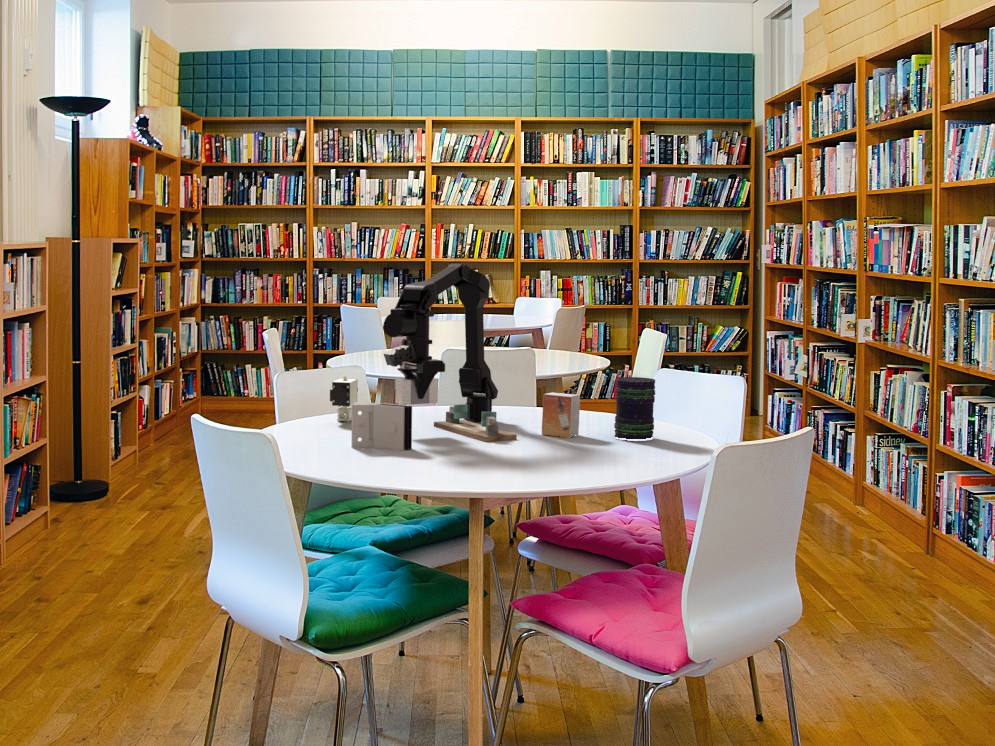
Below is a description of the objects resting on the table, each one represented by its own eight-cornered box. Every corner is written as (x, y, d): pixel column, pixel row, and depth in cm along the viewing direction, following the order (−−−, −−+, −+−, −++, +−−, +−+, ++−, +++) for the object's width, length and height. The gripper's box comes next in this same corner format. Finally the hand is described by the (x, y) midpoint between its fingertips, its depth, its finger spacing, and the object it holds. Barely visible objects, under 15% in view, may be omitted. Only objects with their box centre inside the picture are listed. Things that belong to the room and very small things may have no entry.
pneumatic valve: (358, 418, 292) (358, 374, 291) (348, 424, 281) (348, 379, 279) (338, 417, 293) (338, 373, 291) (327, 423, 281) (327, 378, 280)
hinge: (350, 448, 247) (350, 404, 246) (357, 444, 252) (357, 401, 251) (408, 450, 245) (409, 407, 244) (414, 447, 250) (415, 404, 249)
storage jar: (652, 442, 262) (654, 382, 260) (612, 440, 264) (614, 380, 262) (654, 436, 272) (656, 378, 270) (615, 434, 274) (617, 376, 272)
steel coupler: (430, 400, 271) (430, 377, 271) (438, 402, 268) (438, 379, 267) (395, 402, 266) (395, 378, 266) (402, 404, 263) (402, 380, 262)
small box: (541, 435, 270) (542, 394, 269) (550, 432, 275) (551, 391, 274) (570, 438, 266) (571, 396, 265) (579, 435, 271) (580, 394, 270)
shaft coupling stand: (463, 424, 285) (463, 400, 284) (516, 439, 263) (517, 413, 262) (433, 426, 280) (434, 402, 280) (485, 441, 258) (485, 416, 258)
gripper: (371, 333, 269) (371, 395, 271) (405, 338, 253) (404, 404, 255) (411, 332, 275) (410, 392, 276) (446, 337, 259) (445, 401, 261)
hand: (416, 397), depth 267 cm, fingers closed on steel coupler, 4 cm apart
